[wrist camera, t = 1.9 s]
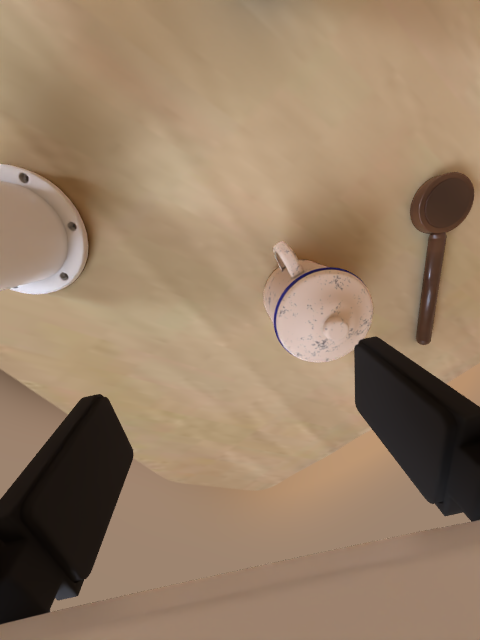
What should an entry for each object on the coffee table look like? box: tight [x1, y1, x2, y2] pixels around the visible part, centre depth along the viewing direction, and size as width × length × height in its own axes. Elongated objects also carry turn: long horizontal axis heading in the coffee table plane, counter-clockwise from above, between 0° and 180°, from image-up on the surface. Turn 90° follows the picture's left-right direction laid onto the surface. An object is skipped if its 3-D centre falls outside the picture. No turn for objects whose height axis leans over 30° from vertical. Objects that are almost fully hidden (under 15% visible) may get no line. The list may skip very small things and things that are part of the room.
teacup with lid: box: [263, 241, 373, 362], centre depth 24 cm, size 12×9×12 cm
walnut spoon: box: [410, 172, 474, 345], centre depth 29 cm, size 20×6×2 cm, turn 8°
